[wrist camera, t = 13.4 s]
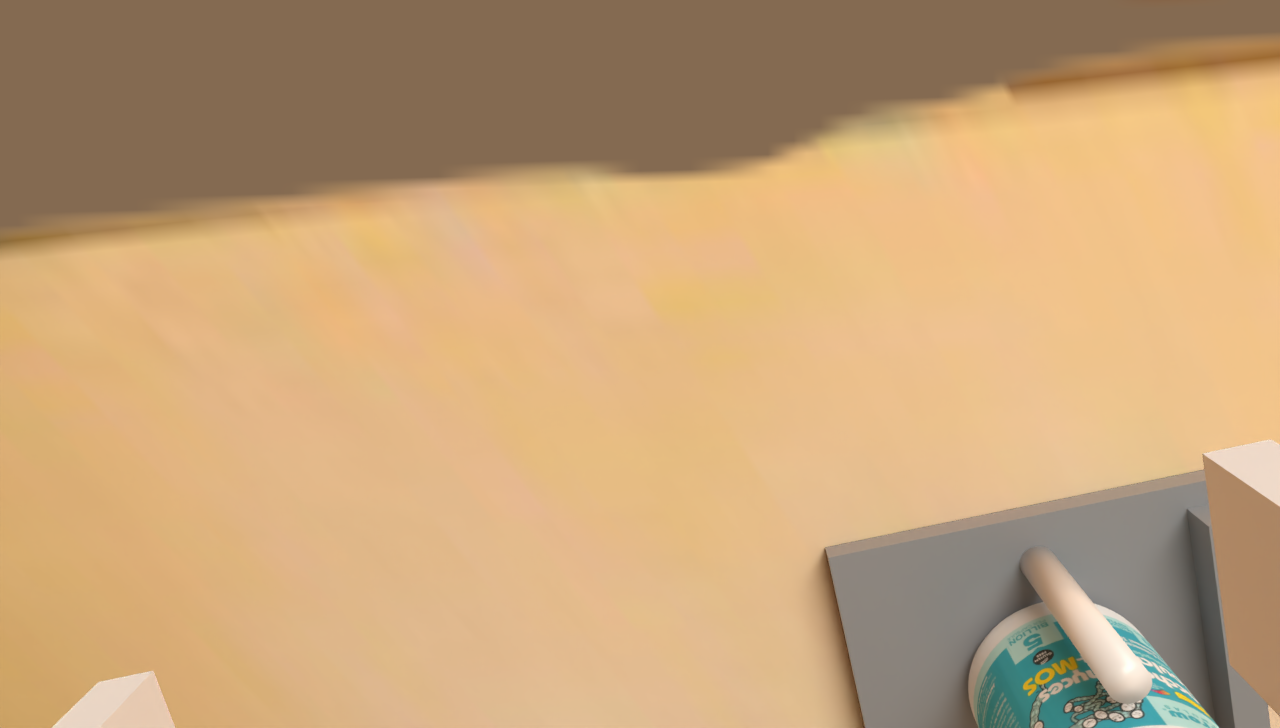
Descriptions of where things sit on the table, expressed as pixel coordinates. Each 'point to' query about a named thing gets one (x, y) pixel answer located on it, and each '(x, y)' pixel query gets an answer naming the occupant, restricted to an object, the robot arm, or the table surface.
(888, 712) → the grey peg board
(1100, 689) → the pill bottle
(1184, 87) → the table surface
